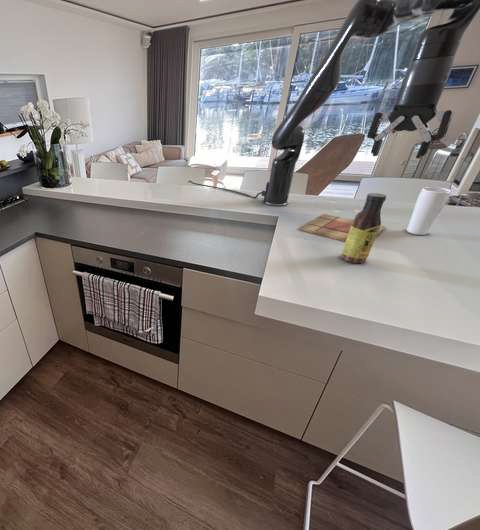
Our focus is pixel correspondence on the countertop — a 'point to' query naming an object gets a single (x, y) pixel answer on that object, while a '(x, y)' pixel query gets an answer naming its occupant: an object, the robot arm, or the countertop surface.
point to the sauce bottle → (364, 230)
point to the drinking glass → (427, 209)
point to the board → (331, 227)
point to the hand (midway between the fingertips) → (395, 156)
